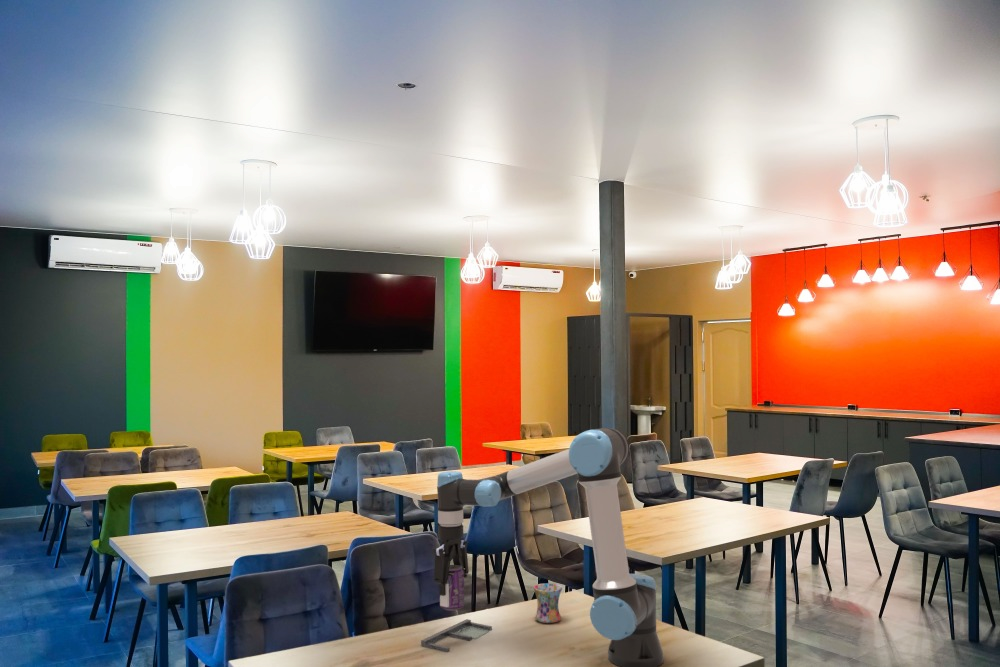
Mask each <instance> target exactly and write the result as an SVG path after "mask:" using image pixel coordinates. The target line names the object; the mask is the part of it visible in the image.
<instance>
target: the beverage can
mask: <svg viewBox="0 0 1000 667" xmlns="http://www.w3.org/2000/svg"><path fill="white" fill-rule="evenodd" d="M443 580H444V579H443ZM447 584H449V607H443V606H440V608H442V609H443V610H445V611H449V612H451V611H452V612H453V611H459V610H460V609H462V608H464V607H465V577H464V572H463V570H462V566H460V565H454V564H450V567H449V573H448V579H447Z"/></svg>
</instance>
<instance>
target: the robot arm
mask: <svg viewBox="0 0 1000 667" xmlns="http://www.w3.org/2000/svg"><path fill="white" fill-rule="evenodd" d="M569 445H570V446H569V448H567V449H564V450H562V451H560V452H559V451H558V452H556V453H554V454H551V455H548V456H546V457H543V458H540V459H537V460H534V461H532V462H528V463H525V464H524V465H521V466H519V467H516V468H512V469H511V470H508V471H504V472H502V473H501V472H500V473H498V474H496V475H493V476H489V477H483V478H481V479H464V478H463V474H462V472H461V471H456V470H455V471H453V470H452V471H450V470H449V471H448V470H447V471H442V472H439V473H438V475H437V486H436V489H437V523H438V524H439V525H438V526H437V533H438V534H437V536H438V538H439V539H440V541H441V542H440V545H439V547H434V549H433V553H434V569H433V570H434V574H433V582H434V583H435V584H438V590H439V593H438V594H439V606H440V607H441V606H443V607H449V584H447V579H448V573H449V567H450V565H451V561H452V562H453V565H460V566H462V570H463V572H464V579H465V578H467V577H468V574H469V562H468V561H469V558H468V550H467V549H468V540H462V538H463V537H464V525H463V523H464V506H471V507H472V506H476V507H483V508H487V507H495V506H497V505H498V503H499V502H500V501H502V500H506V499H509V498H511V497H513V496H516V495H519V494H522V493H525V492H528V491H531V490H532V489H533V490H535V489H536V488H540V487H542V486H546V485H548V484H552V483H554V482H556V481H559V480H562V479H566V478H568V477H572V476H575V475H577V481H578V483H579V484H580V485H581V486H582V487H583V488H584V491H585V498H586V505H587V513H588V520H589V526H590V534H591V541H592V550H593V557H594V564H595V572H596V580H595V581H594V582H593V584H592V591H593V599H594V600H593V602H592V604H591V606H590V609H589V618H590V621H591V624H592V626H593V628H594V629H595V631H597V633H599V634H600V635H601V636H602V637H604V638H606V639H608V640H610V643H609V645H608V650H607V658H608V660H609V661H610V663H612V664H614V665H616V666H618V667H659V666H661V665H662V664H663V663H664V650H663V648H662V644H661V642H660V639H659V635H658V633H657V587H656V580H655V579H654V578H653V577H652V576H649V575H646V574H638V573H630V570H629V562H628V556H627V550H626V549H627V548H626V541H625V534H624V527H623V520H622V513H621V507H620V498H619V493H618V491H619V490H618V483H619V482H620V480H621V479H622V472H621V465H622V464H623V463H624V461H625V460H626V458H627V457H628V452H629V446H628V442H627V440H626V437H625V436H624V435H623V434H622V432H620V431H619V430H617V429H616V428H611V427H601V428H595V429H589V430H585V431H583V432H581V433H579V434H577V435H576V436H575V437H574V438H573V440H572V441H571V443H570V444H569ZM443 579H444V580H443Z"/></svg>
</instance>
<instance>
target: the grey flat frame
mask: <svg viewBox="0 0 1000 667" xmlns="http://www.w3.org/2000/svg"><path fill="white" fill-rule="evenodd" d="M492 630H493V626H491V625H487V624H482V623H477V622H473V621H472V620H471V619H464V620H462V621H459V622H458V623H456V624H453V625H451V626H449V627H447V628H445V629H443V630H441V631H438V632H437V633H434V634H432V635H430V636H427V637H426V638H423V639H422V640H420V646H421V647H424V648H428V649H432V650H436V651H441V652H444V653H449V652H450V651H451V648H450V647H449V646H445V645H440V644H437V643H436V642H439V641H441V640H443V639H445V638H447V637H449V638H454V639H458V640H462V641H468V642H470V641H472V640H477V639H478V638H480V637H482V636H485V635H486V634H489V632H490V631H492Z"/></svg>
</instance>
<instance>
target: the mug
mask: <svg viewBox="0 0 1000 667" xmlns="http://www.w3.org/2000/svg"><path fill="white" fill-rule="evenodd" d="M533 590H534V592H535V596H536V599H537V600H536V601H537V602H536V603H537V608H536V614H535V616H534V619H535V620H536V621H537V622H540V623H543V624H545V623H546V624H552V623H553V624H554V623H557V622H559V621H561V620H562V616H561V614H560V610H559V601H560V595H561V592H562V590H563V586H562V585H560V584H558V583H557V584H556V583H550V582H549V583H547V582H546V583H539V584H535V585H534V586H533Z"/></svg>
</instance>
